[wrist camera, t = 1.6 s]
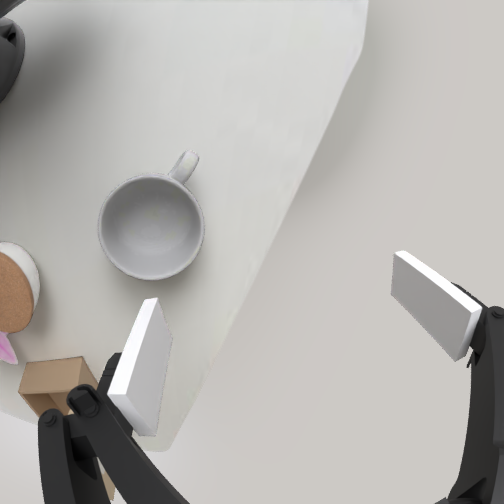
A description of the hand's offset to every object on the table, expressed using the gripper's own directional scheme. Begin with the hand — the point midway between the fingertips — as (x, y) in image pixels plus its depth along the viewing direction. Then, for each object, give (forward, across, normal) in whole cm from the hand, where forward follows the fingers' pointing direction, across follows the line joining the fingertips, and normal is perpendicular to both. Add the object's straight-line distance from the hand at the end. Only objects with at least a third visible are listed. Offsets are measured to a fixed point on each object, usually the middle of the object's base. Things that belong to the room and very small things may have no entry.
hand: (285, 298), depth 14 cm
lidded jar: (+16, -33, 0) cm, 36 cm away
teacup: (+21, -11, +3) cm, 24 cm away
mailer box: (+17, -36, -24) cm, 46 cm away
